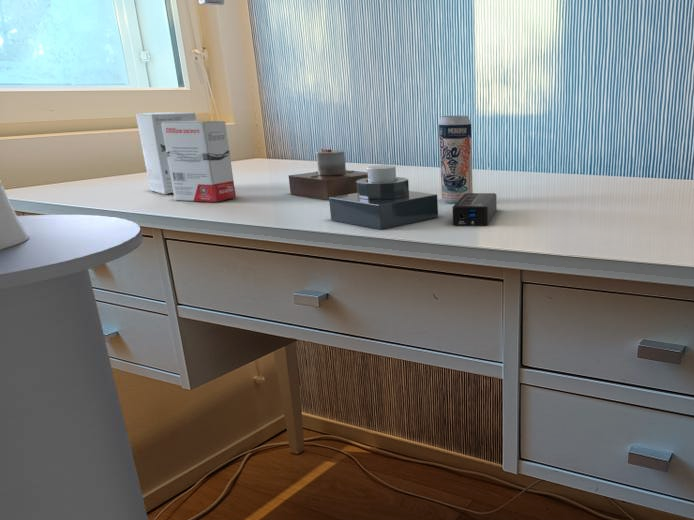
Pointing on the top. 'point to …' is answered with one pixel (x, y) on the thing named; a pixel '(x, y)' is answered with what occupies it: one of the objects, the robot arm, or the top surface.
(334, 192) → the brown rectangular block
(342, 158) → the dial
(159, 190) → the white packaging box
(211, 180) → the ink box
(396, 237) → the top surface
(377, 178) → the white short cylinder
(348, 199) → the push button base
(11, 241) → the robot arm
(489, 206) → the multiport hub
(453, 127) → the coffee can
